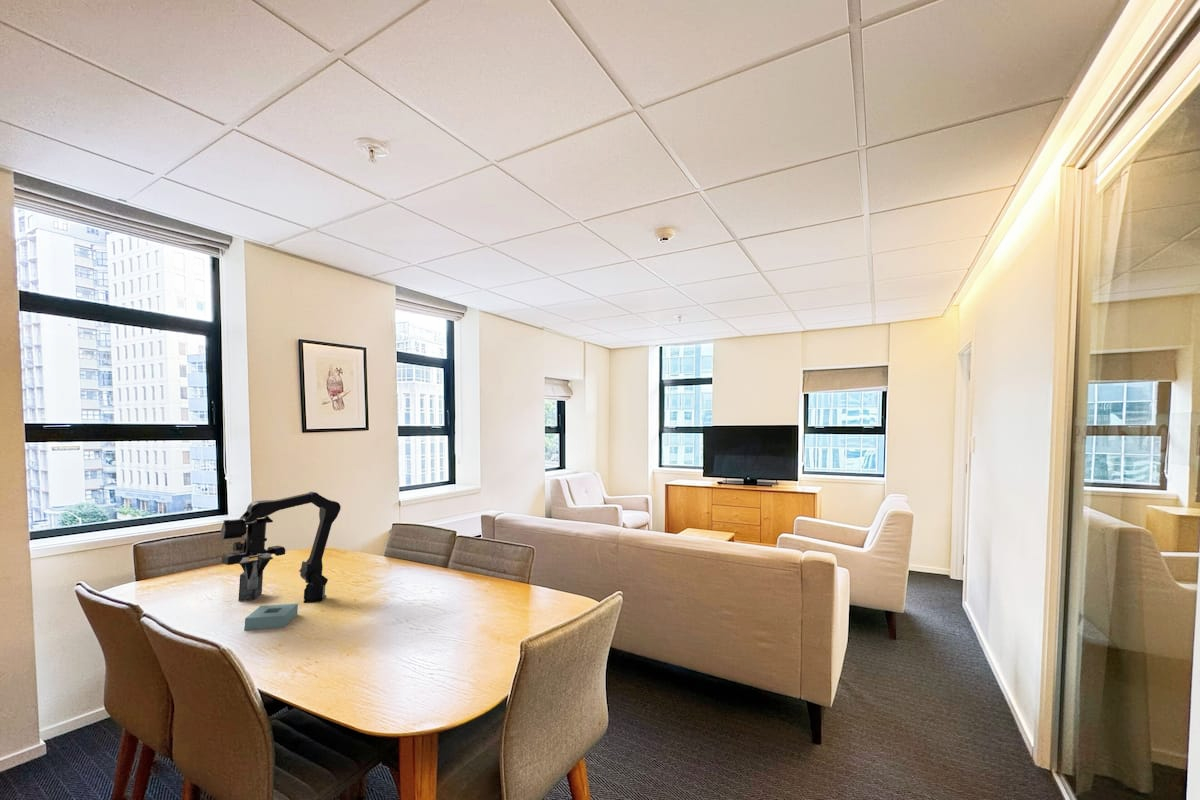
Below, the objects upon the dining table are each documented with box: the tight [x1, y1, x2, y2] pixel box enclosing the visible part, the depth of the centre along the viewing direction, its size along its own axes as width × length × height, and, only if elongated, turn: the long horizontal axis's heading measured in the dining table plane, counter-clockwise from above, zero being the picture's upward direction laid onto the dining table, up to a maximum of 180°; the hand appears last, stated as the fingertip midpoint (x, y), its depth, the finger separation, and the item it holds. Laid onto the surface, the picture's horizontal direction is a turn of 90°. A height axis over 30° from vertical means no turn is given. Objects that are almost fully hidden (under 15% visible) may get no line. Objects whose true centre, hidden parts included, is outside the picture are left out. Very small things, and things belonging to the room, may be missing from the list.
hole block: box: [243, 603, 299, 631], centre depth 167 cm, size 12×12×4 cm
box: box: [238, 571, 264, 602], centre depth 191 cm, size 8×6×11 cm
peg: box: [247, 559, 259, 589], centre depth 174 cm, size 3×3×10 cm
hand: (253, 578), depth 174 cm, fingers closed on peg, 3 cm apart
